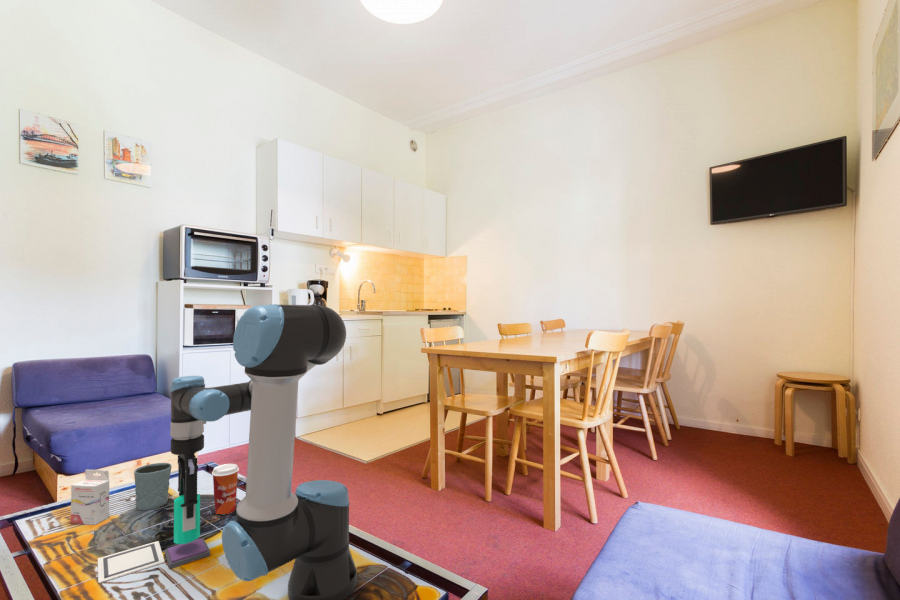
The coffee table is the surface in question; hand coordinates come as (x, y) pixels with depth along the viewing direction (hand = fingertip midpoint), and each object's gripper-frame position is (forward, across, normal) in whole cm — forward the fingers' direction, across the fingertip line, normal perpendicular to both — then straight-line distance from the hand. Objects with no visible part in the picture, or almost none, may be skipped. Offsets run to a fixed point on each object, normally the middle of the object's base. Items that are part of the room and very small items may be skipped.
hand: (187, 525), depth 113 cm
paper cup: (+8, +20, -14) cm, 25 cm away
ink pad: (+8, 0, 0) cm, 8 cm away
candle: (+4, 0, 0) cm, 4 cm away
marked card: (+8, +6, +12) cm, 15 cm away
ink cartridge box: (+8, +41, +20) cm, 46 cm away
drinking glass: (+8, +42, +4) cm, 43 cm away
